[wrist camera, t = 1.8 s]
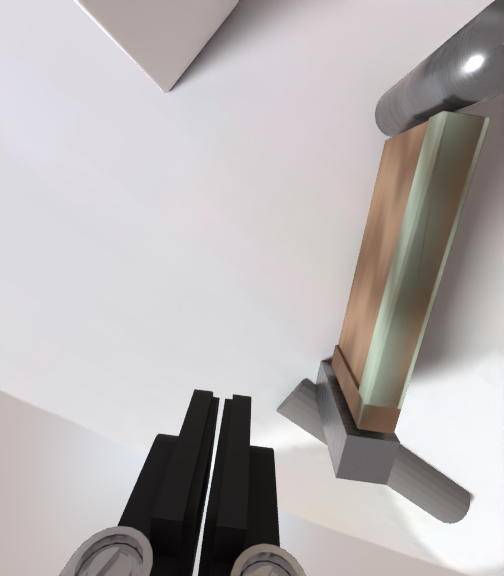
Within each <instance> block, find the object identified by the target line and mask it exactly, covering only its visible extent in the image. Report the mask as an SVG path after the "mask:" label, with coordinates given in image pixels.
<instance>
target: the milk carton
mask: <svg viewBox="0 0 504 576" xmlns="http://www.w3.org/2000/svg"><path fill="white" fill-rule="evenodd" d="M74 1H75V2H76V3H77V4H78V5H79V7H80V8H81V9H82V10H83V11H84V12H85V13H86V14H87V15H88V16H89V17H90V18H91V19H92V20H93V21H94V22H95V23H96V24H97V25H98V26H99V27H100V28H101V29H102V30H103V31H104V32H105V33H106V34H107V35H108V36H109V37H110V38H111V39H112V40H113V41H114V42H115V43H116V44H117V45H118V46H119V47H120V48H121V49H122V50H123V51H124V52H125V53H126V54H127V56H128V57H129V58H130V59H131V60H132V61H133V62H134V63H135V64H136V65H137V66H138V67H139V68H140V69H141V70H142V71H143V72H144V73H145V74H146V75H147V76H148V77H149V78H150V79H151V80H152V81H153V82H154V83H155V84H156V85H157V86H158V87H159V88H160V89H161V90H162V91H163V92H164V93H167V92H168V91H169V90H170V89H171V88H172V86H173V85H174V84H175V83H176V81H177V80H178V79H179V78H180V76H181V75H182V74H183V73H184V71H185V70H186V69H187V67H188V66H189V65H190V64H191V62H192V61H193V60H194V59H195V57H196V56H197V55H198V53H199V52H200V51H201V50H202V48H203V47H204V46H205V45H206V43H207V42H208V41H209V40H210V38H211V37H212V36H213V34H214V33H215V32H216V31H217V29H218V28H219V27H220V26H221V24H222V23H223V22H224V20H225V19H226V18H227V17H228V15H229V14H230V13H231V12H232V10H233V9H234V8H235V6H236V5H237V3H238V2H239V0H74Z"/></svg>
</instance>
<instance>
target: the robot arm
mask: <svg viewBox="0 0 504 576" xmlns="http://www.w3.org/2000/svg"><path fill="white" fill-rule="evenodd" d="M218 407H219V398H217V397H213V392H211V391H204V390H196V389H195V390H194V393H193V396H192V399H191V402H190V405H189V407H188V410H187V413H186V416H185V419H184V422H183V425H182V428H181V431H180V434H179V436H173V435H166V434H158V435H157V436H156V438H155V440H154V442H153V445H152V447H151V449H150V452H149V454H148V456H147V459H146V461H145V463H144V466H143V468H142V470H141V473H140V475H139V477H138V480H137V482H136V484H135V486H134V489H133V491H132V493H131V496H130V498H129V500H128V503H127V505H126V507H125V510H124V512H123V514H122V517H121V519H120V521H119V524H118V526H117V527H112V528H107V529H105V530H103V531H100V532H98V533H96V534H94V535H93V536H92V537H91V538H89V539H88V540H86V541H85V542H84V543H83V544H82V545H81V546H80V547H79V548H78V549H77V551H76V552H75V553H74V554H73V555H72V557H71V558H70V560H69V561H68V563H67V564H66V566H65V567H64V569H63V570H62V572H61V573H60V575H59V576H192V574H193V569H194V563H195V557H196V552H197V546H198V540H199V534H200V529H201V523H202V517H203V512H204V506H205V500H206V495H207V489H208V483H209V477H210V469H211V462H212V454H213V446H214V438H215V430H216V422H217V415H218ZM250 423H251V397H249V396H242V395H234V394H233V399H225V404H224V410H223V416H222V422H221V428H220V434H219V440H218V446H217V452H216V458H215V464H214V470H213V476H212V482H211V488H210V494H209V500H208V506H207V512H206V519H205V525H204V533H203V541H202V548H201V556H200V563H199V571H198V576H306V575H305V572H304V570H303V568H302V567H301V566H300V564H299V563H298V561H297V560H296V559H295V558H294V557H293V556H292V555H291V554H289V553H288V552H287V551H286V550H284V549H282V548H280V542H279V524H278V508H277V492H276V477H275V461H274V450H273V448H266V447H258V446H251V445H250Z"/></svg>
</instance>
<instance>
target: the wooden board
mask: <svg viewBox="0 0 504 576" xmlns="http://www.w3.org/2000/svg"><path fill="white" fill-rule="evenodd" d="M489 121H490V118H488V117H481V116H474V115H467V114H460V113H453V112H446V111H443V112H441V113H438V114H436V115H434V116H432V117H430V118H429V121H427V122H425V123H423V124H420V125H418V126H416V127H414V128H412V129H410V130H407V131H405V132H403V133H401V134H399V135H396V136H394V137H392V138H390V139H388V140H386V141H385V145H384V149H383V153H382V158H381V162H380V166H379V171H378V175H377V179H376V184H375V188H374V192H373V197H372V201H371V205H370V210H369V214H368V218H367V223H366V227H365V231H364V236H363V240H362V244H361V249H360V253H359V257H358V262H357V266H356V271H355V275H354V279H353V284H352V288H351V292H350V297H349V301H348V305H347V310H346V314H345V318H344V323H343V327H342V331H341V336H340V340H339V344H338V345H336V346H335V350H334V354H333V359H332V363H331V364H332V367H333V369H334V372H335V374H336V376H337V379H338V381H339V384H340V386H341V389H342V391H343V394H344V396H345V399H346V401H347V403H348V406H349V408H350V411H351V413H352V416H353V418H354V421H355V423H356V426H357V428H358V429H362V430H369V431H377V432H384V433H391V434H394V431H395V427H396V424H397V421H398V418H399V414H400V411H401V408H402V405H403V401H404V398H405V395H406V392H407V388H408V385H409V382H410V379H411V375H412V372H413V369H414V365H415V362H416V359H417V356H418V352H419V349H420V346H421V343H422V339H423V336H424V333H425V330H426V326H427V323H428V320H429V317H430V313H431V310H432V307H433V303H434V300H435V297H436V294H437V290H438V287H439V284H440V281H441V277H442V274H443V271H444V268H445V264H446V261H447V258H448V255H449V251H450V248H451V245H452V242H453V238H454V235H455V232H456V228H457V225H458V222H459V219H460V215H461V212H462V209H463V206H464V202H465V199H466V196H467V193H468V189H469V186H470V183H471V180H472V176H473V173H474V170H475V166H476V163H477V160H478V157H479V153H480V150H481V147H482V144H483V140H484V137H485V134H486V131H487V127H488V124H489Z"/></svg>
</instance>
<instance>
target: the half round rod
mask: <svg viewBox="0 0 504 576" xmlns="http://www.w3.org/2000/svg"><path fill="white" fill-rule="evenodd" d="M315 396H316V385H314V384H313V383H311V382H310V381H309V380H307V379H304V380H303V381H302V382H301V383H300V384H299V385H298V386H297V387H296V389H295V390H294V391H293V392H292V393H291V394H290V395H289V396H288V397H287V399H286V400H285V401H284V402H283V403H282V404H281V405H280V406H279V407H278V409H277V412H279V413H280V414H282V415H283V416H285V417H286V418H288V419H289V420H291V421H292V422H294V423H295V424H297V425H298V426H300V427H301V428H303V429H304V430H306V431H307V432H309V433H310V434H311V435H313V436H314V437H316V438H317V439H319V440H320V441H322V442H323V443H325V444H326V445H327V441H326V438H325V434H324V430H323V426H322V422H321V418H320V414H319V410H318V407H317V403H316V399H315ZM387 486H389V487H390V488H392V489H393V490H395V491H396V492H398V493H399V494H401V495H402V496H404V497H405V498H407V499H408V500H410V501H411V502H413V503H414V504H416V505H417V506H419V507H420V508H422V509H423V510H425V511H426V512H428V513H429V514H431V515H432V516H434V517H435V518H437V519H438V520H440V521H442V522H444V523H450V524H451V523H456V522H458V521H460V520H462V519H463V518H464V516H465V515H466V514H467V512H468V510H469V506H470V498H469V493H468V492H467V491H466V490H464V489H463V488H461V487H460V486H459V485H457V484H456V483H454V482H453V481H451V480H450V479H449V478H447V477H446V476H444V475H443V474H441V473H440V472H439V471H437V470H436V469H434V468H433V467H431V466H430V465H429V464H427V463H426V462H424V461H423V460H421V459H420V458H419V457H417V456H416V455H414V454H413V453H411V452H410V451H409V450H407V449H406V448H404V447H403V446H401V445H400V444H399V448H398V451H397V454H396V457H395V460H394V463H393V467H392V470H391V473H390V476H389V479H388V482H387Z"/></svg>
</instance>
